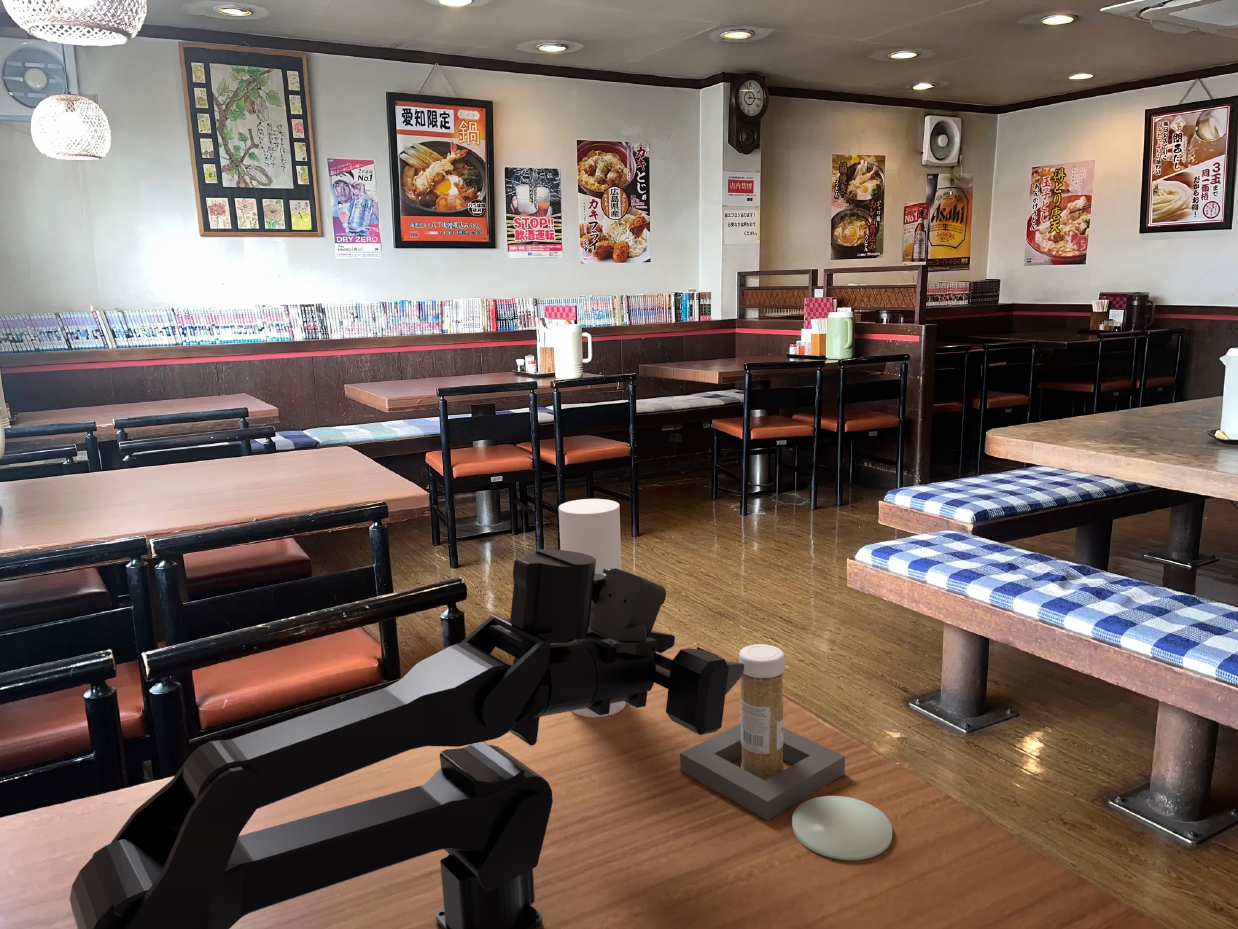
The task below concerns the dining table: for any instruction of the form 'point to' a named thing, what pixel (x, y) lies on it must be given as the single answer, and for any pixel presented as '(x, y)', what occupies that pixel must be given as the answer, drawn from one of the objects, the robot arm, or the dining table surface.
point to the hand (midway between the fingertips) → (706, 654)
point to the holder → (750, 791)
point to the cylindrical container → (593, 545)
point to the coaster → (842, 828)
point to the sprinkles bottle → (762, 710)
